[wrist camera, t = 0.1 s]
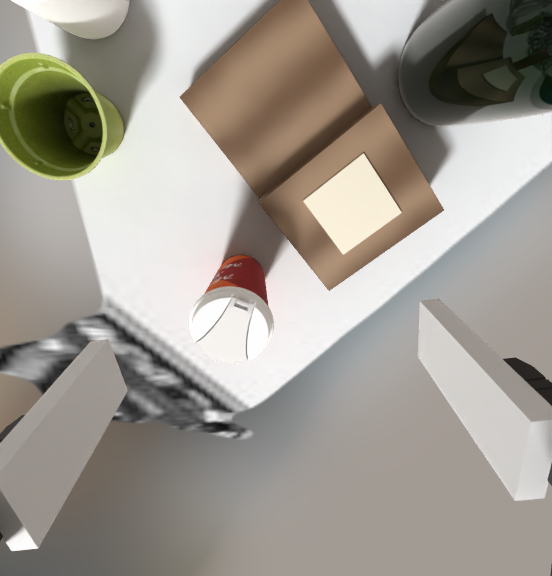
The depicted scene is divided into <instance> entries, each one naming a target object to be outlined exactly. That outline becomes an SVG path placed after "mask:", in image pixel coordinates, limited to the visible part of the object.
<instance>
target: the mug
mask: <svg viewBox="0 0 552 576" xmlns="http://www.w3.org/2000/svg"><path fill="white" fill-rule="evenodd" d="M11 1H13V2H15V3H17V4H18V5H20V6H22V7H24V8H26V9H27V10H29V11H31V12H33V13H35V14H36V15H38V16H40V17H42V18H44V19H46V20H47V21H49V22H51V23H53V24H55V25H56V26H58V27H60V28H62V29H64V30H65V31H67V32H69V33H72V34H74V35H76V36H79V37H82V38H87V39H101V38H104V37H107V36H109V35H111V34H113V33H114V32H115V31H117V29H118V28H119V27H120V26H121V25H122V23H123V22H124V20H125V18H126V15H127V12H128V9H129V3H130V0H11Z"/></svg>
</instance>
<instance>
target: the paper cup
mask: <svg viewBox="0 0 552 576" xmlns="http://www.w3.org/2000/svg"><path fill="white" fill-rule="evenodd" d="M189 329H190V332H191V335H192V337H193V340H194V342H195V344H196V345H197V346H198V348H199V349H200V350H201V351H202V352H203V353H204V354H205V355H206V356H207V357H209V358H210V359H212V360H214V361H217V362H220V363H226V364H237V363H242V362H246V361H249V360H251V359H253V358H255V357H256V356H257V355H258V354H260V353H261V351H262V350H263V349H264V348H265V347H266V346H267V345H268V343H269V341H270V340H271V337H272V335H273V329H274V321H273V316H272V313H271V311H270V309H269V307H268V300H267V292H266V285H265V278H264V273H263V270H262V268H261V266H260V264H259V263H258V262H257V261H256V260H255V259H253V258H251V257H249V256H245V255H237V256H233V257H231V258H229V259H227V260H226V261H225V262H224V263H223V264H222V266H221V267H220V269H219V270H218V272H217V273H216V275H215V277H214V278H213V280H212V282H211V283H210V285H209V287H208V289H207V290H206V292H205V294H204V295H203V296H201V297H200V298H199V299H198V300H197V301H196V303H195V304H194V306H193V308H192V310H191V313H190V316H189Z"/></svg>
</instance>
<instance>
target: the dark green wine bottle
mask: <svg viewBox="0 0 552 576" xmlns="http://www.w3.org/2000/svg"><path fill="white" fill-rule="evenodd" d="M398 84H399V90H400V94H401V97H402V100H403V103H404V104H405V106H406V107H407V109H408V111H409V112H410V113H411V114H412V115H413V116H414V117H415V118H417V119H418V120H420V121H421V122H423V123H425V124H428V125H431V126H440V127H450V126H459V125H468V124H476V123H484V122H492V121H500V120H507V119H515V118H522V117H529V116H536V115H541V114H546V113H551V112H552V0H448V1H446V2H445V3H444V4H442V5H441V6H440V7H439V8H437V9H436V10H435V11H433V12H432V13H431V14H430V15H429V16H428V17H427V18H426V19H425V20H424V21H422V22H421V23H420V24H419V25H418V27H417V28H416V29H415V30H414V32H413V33H412V34H411V36H410V38H409V39H408V41H407V43H406V45H405V47H404V50H403V53H402V55H401V59H400V64H399V69H398Z"/></svg>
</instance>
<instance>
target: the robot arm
mask: <svg viewBox="0 0 552 576" xmlns="http://www.w3.org/2000/svg"><path fill="white" fill-rule="evenodd" d="M418 358H419V359H420V361H421V362H422V364H423V365H424V367H425V368H426V370H427V371H428V373H429V374H430V375H431V377H432V379H433V380H434V382H435V383H436V384H437V386H438V387H439V389H440V390H441V392H442V393H443V395H444V396H445V398H446V399H447V401H448V402H449V403H450V405H451V407H452V408H453V410H454V411H455V413H456V414H457V415H458V417H459V418H460V420H461V422H462V423H463V424H464V426H465V427H466V429H467V430H468V432H469V433H470V435H471V436H472V438H473V439H474V441H475V442H476V444H477V445H478V447H479V448H480V450H481V451H482V452H483V454H484V456H485V457H486V459H487V460H488V462H489V463H490V465H491V466H492V468H493V469H494V470H495V472H496V473H497V475H498V476H499V478H500V479H501V481H502V482H503V484H504V485H505V486H506V488H507V490H508V491H509V493H510V494H511V496H512V497H513V498H514V500H515V501H520V500H530V499H540V498H545V494H546V490H547V486H548V482H549V483H550V484H551V485H552V383H551V382H550V381H549V380H546V379H545V377H544V376H543V375H542V374H541V373H540V372H539V371H537V370H536V369H535V368H534V367H532V366H531V365H529V364H527V363H525V362H523V361H521V360H519V359H517V358H509V359H502V358H501V357H500V356H499V355H497V354H496V353H495V352H494V351H493V350H492V349H491V348H490V347H489V346H488V345H487V344H486V343H485V342H484V341H483V340H482V339H481V338H480V337H479V336H478V335H477V334H475V333H474V332H473V331H472V330H471V329H470V328H469V327H468V326H467V325H466V324H465V323H464V322H463V321H462V320H461V319H460V318H458V316H456V315H455V314H454V313H453V312H452V311H451V310H450V309H449V308H448V307H447V306H446V305H445V304H444V303H443V302H442V301H441V300H440V299H432V300H424V301H420V316H419V344H418ZM126 393H127V388H126V385H125V383H124V380H123V377H122V375H121V372H120V369H119V366H118V364H117V361H116V358H115V356H114V353H113V350H112V348H111V345H110V342H109V340H108V339H106V340H98V341H91V342H90V343H89V344H88V345H87V346H86V347H85V348H84V350H83V351H82V352H81V353H80V354H79V355H78V356H77V357H76V359H75V360H74V361H73V362H72V363H71V364H70V365H69V366H68V368H67V369H66V370H65V371H64V372H63V373H62V374H61V375H60V377H59V378H58V379H57V380H56V381H55V382H54V383H53V384H52V386H51V387H50V388H49V389H48V390H47V391H46V392H45V393H44V395H43V396H42V397H41V398H40V399H39V400H38V401H37V403H36V404H35V405H34V406H33V407H32V408H31V409H30V410H29V411H28V413H27V414H26V415H22V416H21V417H19V418H18V419H17V420H16V421H14V422H13V423H11V424H10V425H9V426H7V427H6V428H5V429H4V430H3V431H2V432H1V434H0V540H1V539H2V538H3V539H4V541H5V542H6V543H7V545H8V546H9V548H10V549H11V551H16V550H26V549H37V548H39V546H40V544H41V542H42V541H43V539H44V537H45V535H46V534H47V532H48V530H49V528H50V527H51V525H52V523H53V521H54V519H55V518H56V516H57V514H58V512H59V511H60V509H61V507H62V505H63V504H64V502H65V500H66V498H67V497H68V495H69V493H70V491H71V490H72V488H73V486H74V484H75V483H76V481H77V479H78V477H79V476H80V474H81V472H82V470H83V468H84V467H85V465H86V463H87V461H88V460H89V458H90V456H91V454H92V453H93V451H94V449H95V447H96V446H97V444H98V442H99V440H100V439H101V437H102V435H103V433H104V431H105V430H106V428H107V426H108V424H109V423H110V421H111V419H112V418H113V416H114V414H115V412H116V410H117V409H118V407H119V405H120V403H121V402H122V400H123V398H124V396H125V395H126ZM551 576H552V567H551Z"/></svg>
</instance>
